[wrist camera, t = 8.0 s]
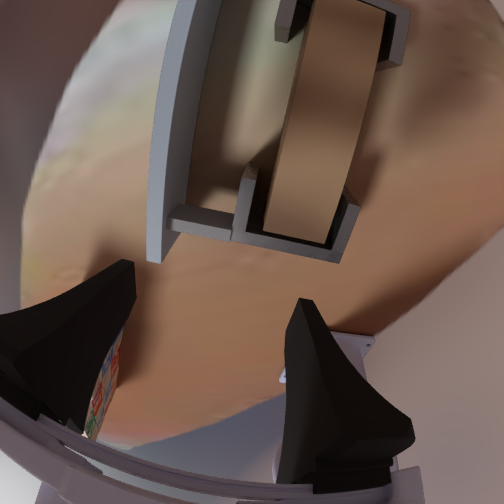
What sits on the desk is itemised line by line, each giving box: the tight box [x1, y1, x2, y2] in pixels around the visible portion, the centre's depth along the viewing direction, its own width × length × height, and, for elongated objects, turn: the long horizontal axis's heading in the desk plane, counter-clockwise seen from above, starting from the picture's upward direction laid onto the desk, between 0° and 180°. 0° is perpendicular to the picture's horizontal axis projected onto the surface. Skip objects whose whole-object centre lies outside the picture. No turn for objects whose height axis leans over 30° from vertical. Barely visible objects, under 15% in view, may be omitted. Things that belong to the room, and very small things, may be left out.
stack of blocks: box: [82, 327, 123, 442], centre depth 26 cm, size 21×6×12 cm, turn 155°
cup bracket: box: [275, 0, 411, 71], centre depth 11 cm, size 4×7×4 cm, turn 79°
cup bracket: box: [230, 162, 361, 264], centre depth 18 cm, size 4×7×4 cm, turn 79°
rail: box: [263, 0, 386, 244], centre depth 14 cm, size 14×4×5 cm, turn 169°
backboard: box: [146, 0, 235, 264], centre depth 14 cm, size 21×5×5 cm, turn 169°
